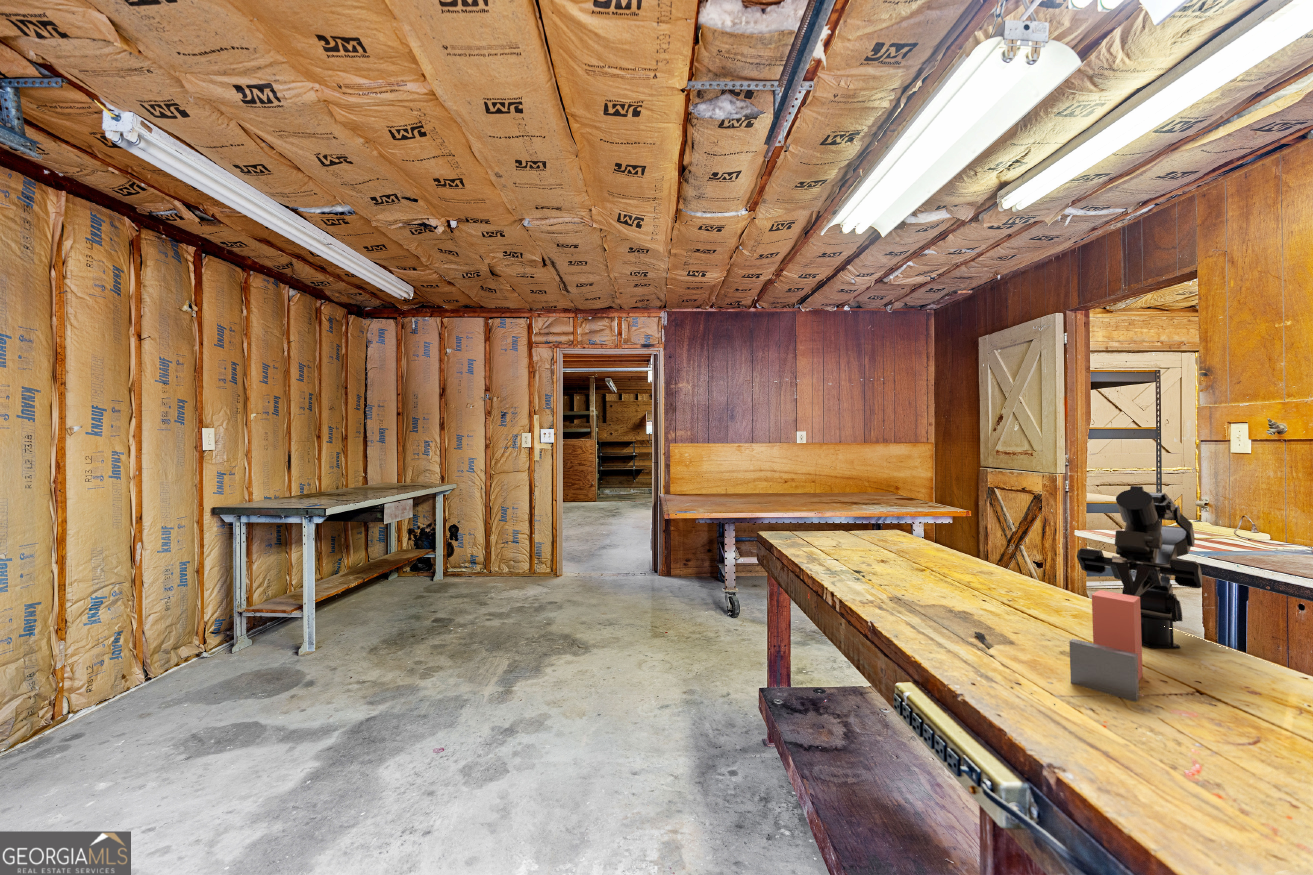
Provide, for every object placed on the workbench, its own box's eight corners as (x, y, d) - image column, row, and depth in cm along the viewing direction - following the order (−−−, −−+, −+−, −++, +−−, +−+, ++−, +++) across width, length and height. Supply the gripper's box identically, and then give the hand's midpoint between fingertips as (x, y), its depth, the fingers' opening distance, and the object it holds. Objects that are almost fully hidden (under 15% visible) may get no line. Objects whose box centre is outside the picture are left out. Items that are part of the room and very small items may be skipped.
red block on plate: (1101, 665, 101) (1099, 589, 101) (1142, 676, 96) (1140, 596, 96) (1094, 672, 98) (1091, 594, 98) (1136, 684, 93) (1133, 602, 94)
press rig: (1090, 667, 103) (1089, 622, 103) (1158, 685, 95) (1157, 637, 95) (1067, 688, 95) (1065, 640, 95) (1140, 710, 87) (1138, 658, 87)
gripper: (1077, 511, 114) (1063, 568, 108) (1198, 520, 99) (1189, 587, 93) (1089, 541, 119) (1076, 598, 112) (1205, 554, 104) (1198, 621, 97)
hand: (1129, 600), depth 104 cm, fingers closed
